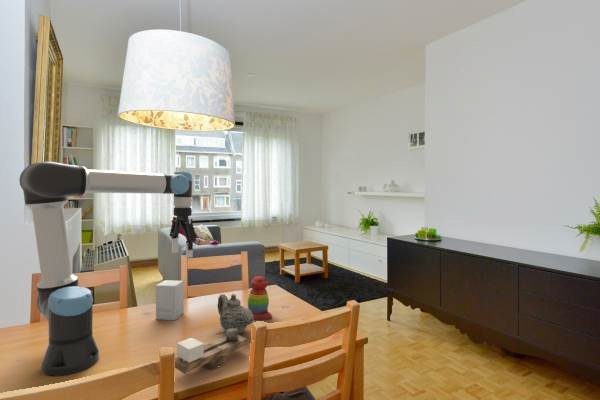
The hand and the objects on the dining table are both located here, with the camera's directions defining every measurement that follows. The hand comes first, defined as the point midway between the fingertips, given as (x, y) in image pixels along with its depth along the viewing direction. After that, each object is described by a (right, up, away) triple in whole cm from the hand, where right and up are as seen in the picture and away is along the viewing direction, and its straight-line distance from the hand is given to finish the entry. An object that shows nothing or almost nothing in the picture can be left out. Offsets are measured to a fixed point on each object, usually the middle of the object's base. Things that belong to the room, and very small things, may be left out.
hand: (181, 255), depth 150 cm
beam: (+23, -29, -39) cm, 54 cm away
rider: (+18, -26, -45) cm, 55 cm away
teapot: (+25, -28, -14) cm, 40 cm away
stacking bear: (+34, -28, +3) cm, 44 cm away
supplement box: (-5, -27, 0) cm, 28 cm away
